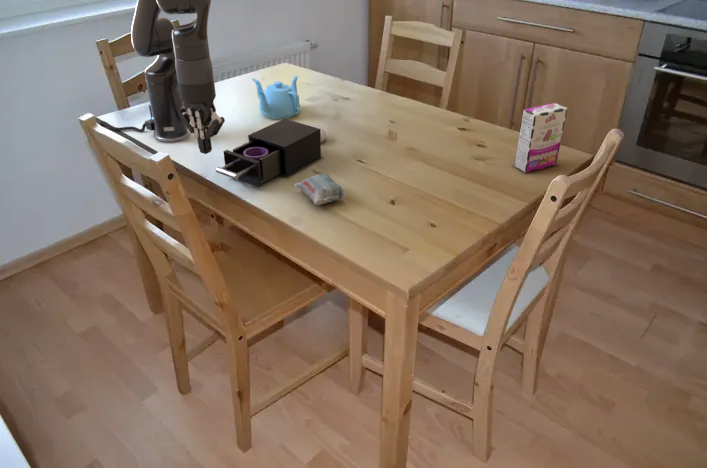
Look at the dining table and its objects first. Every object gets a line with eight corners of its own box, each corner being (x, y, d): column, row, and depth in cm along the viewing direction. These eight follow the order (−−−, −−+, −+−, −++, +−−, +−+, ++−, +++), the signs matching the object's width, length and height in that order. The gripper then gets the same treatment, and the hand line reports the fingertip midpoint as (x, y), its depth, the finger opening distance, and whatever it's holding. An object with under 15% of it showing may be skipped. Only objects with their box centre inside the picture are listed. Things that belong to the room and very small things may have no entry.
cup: (240, 170, 150) (238, 152, 147) (256, 162, 154) (255, 144, 151) (257, 177, 147) (256, 159, 144) (274, 168, 151) (273, 150, 148)
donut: (288, 145, 168) (321, 148, 167) (287, 134, 167) (321, 137, 165) (297, 132, 177) (329, 134, 175) (297, 121, 175) (329, 123, 173)
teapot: (305, 120, 184) (304, 88, 179) (257, 123, 182) (254, 91, 176) (299, 104, 197) (298, 74, 191) (254, 107, 194) (251, 76, 188)
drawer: (244, 196, 141) (241, 171, 137) (210, 183, 146) (207, 158, 142) (294, 168, 154) (293, 144, 150) (261, 157, 159) (260, 134, 156)
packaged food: (314, 213, 136) (314, 194, 134) (294, 191, 145) (293, 173, 142) (347, 204, 140) (348, 186, 137) (325, 184, 149) (325, 166, 146)
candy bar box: (543, 158, 163) (555, 101, 154) (556, 165, 159) (569, 108, 151) (512, 166, 159) (522, 108, 150) (525, 173, 155) (536, 114, 146)
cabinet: (286, 177, 151) (284, 146, 147) (250, 164, 157) (248, 135, 153) (321, 158, 161) (320, 128, 157) (286, 146, 167) (284, 118, 163)
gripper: (230, 78, 124) (238, 153, 133) (187, 67, 130) (198, 140, 139) (204, 87, 118) (214, 165, 128) (160, 76, 125) (173, 150, 134)
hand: (205, 152), depth 133 cm, fingers closed
